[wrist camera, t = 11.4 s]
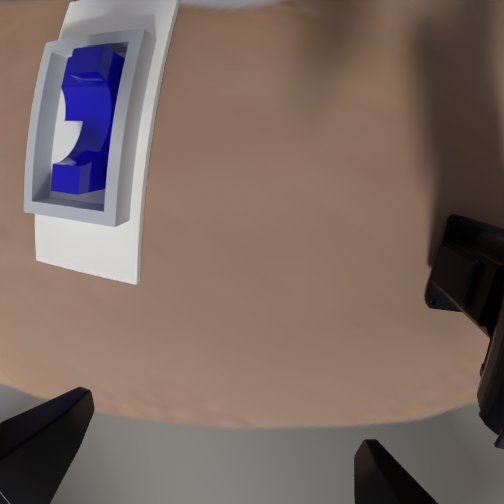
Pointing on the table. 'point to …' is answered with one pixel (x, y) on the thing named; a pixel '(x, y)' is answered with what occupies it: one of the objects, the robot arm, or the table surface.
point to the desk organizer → (121, 145)
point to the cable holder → (88, 118)
